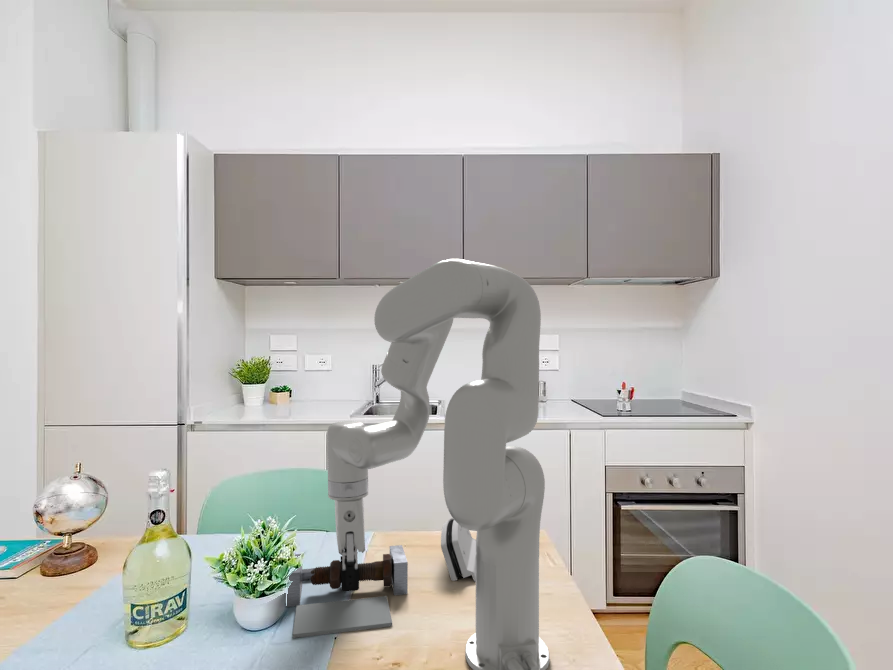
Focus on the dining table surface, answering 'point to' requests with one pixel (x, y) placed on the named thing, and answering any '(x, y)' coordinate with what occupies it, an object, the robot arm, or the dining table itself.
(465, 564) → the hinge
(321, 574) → the bolt
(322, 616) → the mat
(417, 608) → the dining table surface
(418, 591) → the dining table surface
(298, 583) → the vise
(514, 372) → the robot arm
